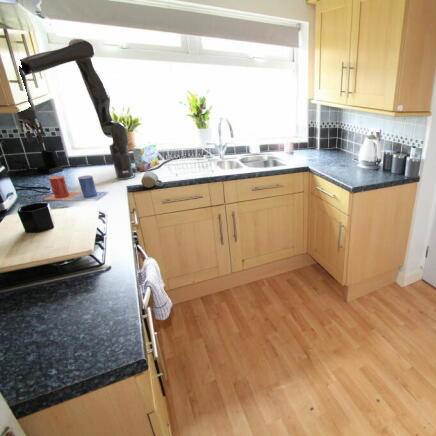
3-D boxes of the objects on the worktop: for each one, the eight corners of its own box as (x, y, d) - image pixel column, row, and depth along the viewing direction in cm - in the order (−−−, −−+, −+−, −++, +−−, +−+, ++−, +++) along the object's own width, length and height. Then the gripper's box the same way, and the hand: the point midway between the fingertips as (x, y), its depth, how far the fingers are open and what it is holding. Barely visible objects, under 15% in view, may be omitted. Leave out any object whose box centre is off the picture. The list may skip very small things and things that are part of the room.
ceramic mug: (141, 188, 179) (139, 175, 176) (144, 184, 187) (142, 171, 183) (162, 188, 182) (160, 175, 179) (164, 183, 190) (162, 171, 186)
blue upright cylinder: (87, 193, 168) (82, 175, 163) (99, 193, 168) (94, 175, 164) (81, 197, 162) (75, 178, 158) (93, 197, 163) (88, 178, 159)
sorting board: (57, 193, 168) (56, 192, 168) (106, 192, 172) (106, 191, 171) (43, 200, 158) (43, 199, 158) (96, 199, 162) (96, 198, 162)
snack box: (144, 171, 211) (140, 148, 205) (136, 170, 211) (131, 148, 205) (159, 163, 231) (155, 142, 224) (151, 163, 230) (147, 142, 224)
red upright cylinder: (59, 194, 165) (53, 175, 161) (72, 194, 166) (66, 175, 162) (52, 198, 160) (45, 179, 156) (65, 198, 161) (59, 179, 157)
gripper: (42, 109, 154) (53, 142, 160) (25, 107, 159) (36, 139, 165) (24, 110, 147) (35, 145, 154) (6, 108, 152) (18, 142, 159)
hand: (36, 142), depth 159 cm, fingers open, 8 cm apart
